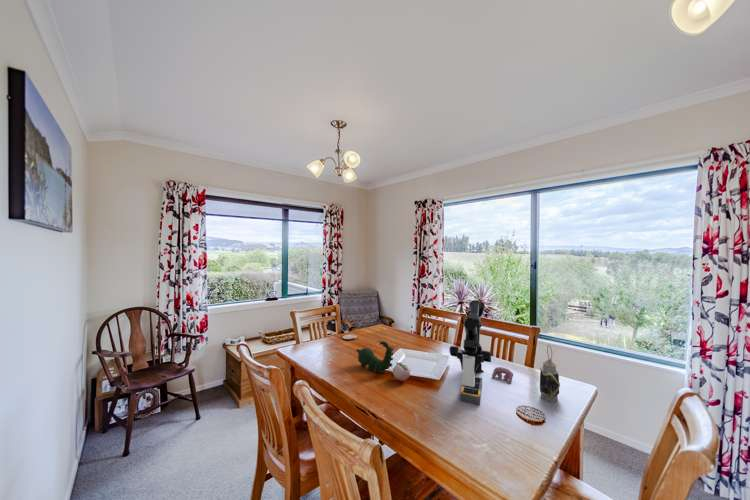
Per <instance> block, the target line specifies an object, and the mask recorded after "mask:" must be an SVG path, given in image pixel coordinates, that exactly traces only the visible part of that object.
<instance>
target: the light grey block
mask: <svg viewBox="0 0 750 500" xmlns="http://www.w3.org/2000/svg"><path fill="white" fill-rule="evenodd" d="M474 367H475V357H472V356H467V355H463V370H462V385H466V386H471V387H474V385H475V377H476V373H474Z"/></svg>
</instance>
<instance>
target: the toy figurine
mask: <svg viewBox="0 0 750 500" xmlns="http://www.w3.org/2000/svg"><path fill="white" fill-rule="evenodd" d="M379 345H380V346H381V345H382V346H383V347H384V348H385V353H384V356H383V359H381V358H380V359H379V358H378V356H376V355H375V353H374V351H373V350H372V349H371V348H369V347H364V348H361V349H357V348H356V349H355V351H356V353H357V359H358V360H357V361H358V363H360V366H361V367H362V368H366V367H367V369H368V370H369V371H372V369H374V373H378V372H381V373H382V374H383V373H385V371H387V370H386V369H388V370H389V368H390V367H393V363H391V361H393V360H394V358H393V355H394V352H393V351H394V348H392V347H391V346H389V343H388V342H386V341H385V340H383V341H380V342H379Z"/></svg>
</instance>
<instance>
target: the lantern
mask: <svg viewBox="0 0 750 500" xmlns="http://www.w3.org/2000/svg"><path fill="white" fill-rule="evenodd" d="M549 347H550V351H551V357H550V356H549V355H547V358H548V359H547V360H545V361H543V362H542V365H543V366H541V367H540V368H539V370H540V372H539V374H540V375H539V391H540V397H541V398H542V399H543V400H545V401H547V402H552V403H553V402H554V403H555V402H558V401H559V400H558V395H559V394H560V386H561V382H560V377H559V376H560V375H559V371H558V370H557V364H556V363H554V362H553V361H552V359H553V349H552V347H551V345H550V344H547V349H546V350H547V351H546V353H547V354H549Z"/></svg>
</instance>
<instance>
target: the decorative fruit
mask: <svg viewBox="0 0 750 500" xmlns="http://www.w3.org/2000/svg"><path fill="white" fill-rule="evenodd" d="M392 374H393V376H394V378H395V379H396V380H398V381H400V382H403V381H406V380H408V379H409V377H410V375H411V369H410V367H409V366H408V365H406V364H403V363H402V361H401V362H398V361H397V362H395V365H394V367H393V368H392Z"/></svg>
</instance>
